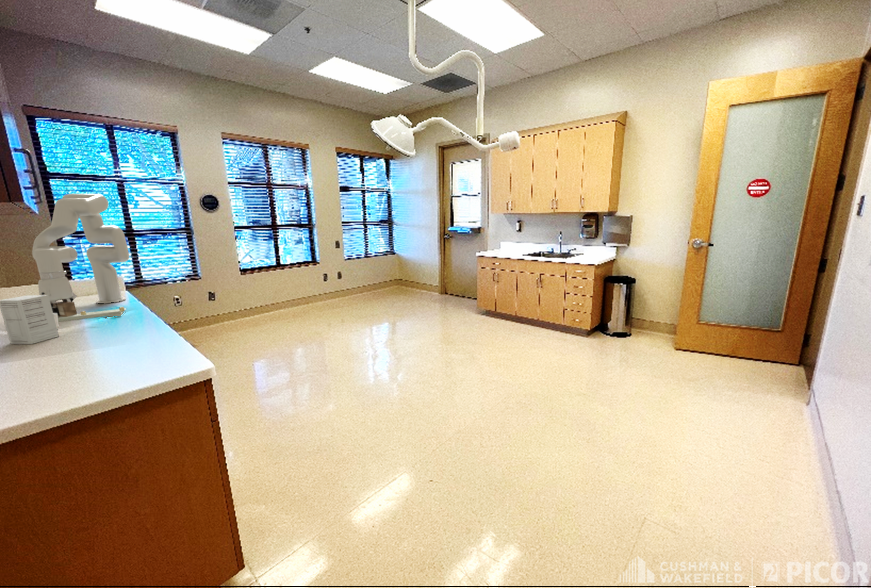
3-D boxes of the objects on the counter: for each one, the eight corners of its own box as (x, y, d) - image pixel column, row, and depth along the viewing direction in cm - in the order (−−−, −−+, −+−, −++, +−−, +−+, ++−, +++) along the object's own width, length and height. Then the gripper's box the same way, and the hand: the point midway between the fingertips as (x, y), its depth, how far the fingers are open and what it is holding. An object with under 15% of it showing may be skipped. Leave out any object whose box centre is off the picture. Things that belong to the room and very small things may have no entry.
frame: (58, 313, 164) (55, 301, 163) (77, 314, 163) (73, 301, 162) (48, 316, 160) (44, 303, 159) (66, 316, 159) (63, 304, 158)
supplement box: (60, 336, 137) (50, 294, 134) (31, 344, 128) (19, 300, 125) (38, 336, 138) (28, 294, 135) (9, 344, 129) (-4, 299, 126)
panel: (51, 319, 163) (50, 312, 163) (127, 310, 178) (126, 304, 177) (40, 326, 152) (38, 319, 151) (122, 316, 166) (120, 310, 165)
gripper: (66, 272, 166) (76, 309, 170) (21, 279, 150) (33, 319, 154) (80, 272, 165) (89, 309, 169) (36, 279, 149) (47, 320, 153)
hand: (62, 314), depth 162 cm, fingers closed on frame, 4 cm apart
